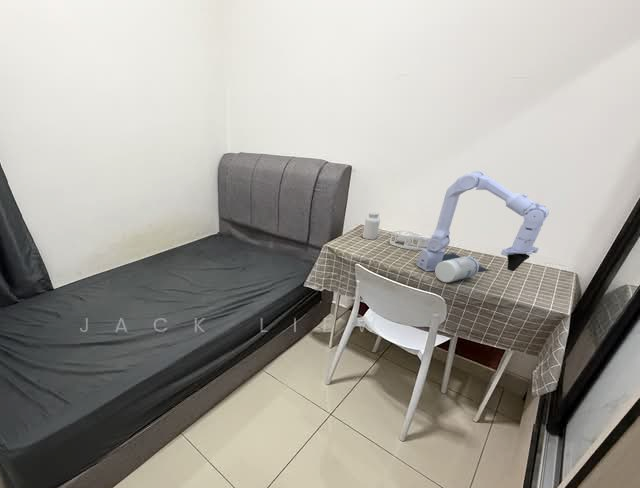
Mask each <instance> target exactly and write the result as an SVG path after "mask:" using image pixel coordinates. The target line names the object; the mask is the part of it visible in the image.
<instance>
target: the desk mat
mask: <svg viewBox="0 0 640 488" xmlns="http://www.w3.org/2000/svg"><path fill="white" fill-rule="evenodd" d="M460 257H461V256H460V255H457V254H455V253H446V254H445V253H444V256H443V259H442V261H446V260H450V259H455V258H460ZM484 271H488V269H487V268H485V267H482V266H480V265H479V270H478V272H484Z"/></svg>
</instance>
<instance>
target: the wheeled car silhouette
mask: <svg viewBox="0 0 640 488" xmlns="http://www.w3.org/2000/svg"><path fill="white" fill-rule="evenodd" d="M394 235H395V236H394ZM393 237H394V240H393ZM431 237H432V235H427V234H424V233H418V232H414V231H410V230H405V229H396V230H392V232H391V234H390V239H389V244H390V245H392V246H394V247H397V248H401V249H406V250H413V251H425V250H426V249H427V248H428V247H427V243H428V241H429V240H430V239H431ZM410 239H411V240H410ZM414 240H418V241H417V244H416V243H414ZM410 241H411V242H410ZM398 243H399V244H398ZM402 244H403V245H402Z"/></svg>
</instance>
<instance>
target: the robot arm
mask: <svg viewBox="0 0 640 488" xmlns="http://www.w3.org/2000/svg"><path fill="white" fill-rule="evenodd" d="M473 189H475V191H484V190H485V191H488V192H489V193H491V194H492V195H494V196H496V197H497V198H499V199H501V200H503V201H505V207H507V208H508V209H509V210H511V211H513V212H514V213H516V215H517V214H518V215H519V216H520V217H523V222H522V224H521V225H520V227H519V230H518V232H517V234H516V236H515V238H514V241H513V243H512V245H511V246H510V247H507V248H504V249H502V250H501V252H500V255H502V256H504V257H507V270H508V271H510V272H515V271H516V270H517V269H518V268H519V267H520V266H521V265H522V264H523V263H524V262H526V260H528V259H530V257H531V256H530V255H533V254H537V253H538V251H539V249H540V248H539V247H536V246H534V244H535V242H536V240H537V238H538V236H539V234H540V232H541V230H542V227H543V226H544V221H545V220H546V219H547V218H548V217H549V214H550V210H549V209H548V207H546V206H545V205H543V204H541V203H540V202H535V201H533V200H532V199H530V198H529V197H528V196H529V195H528V194H526V193H524V194H523V193H519V192H518V193H513V192H511V191H510V190H509V189H507V188H506V187H505V186H503V185H502V184H500V183H499V182H497V181H496V180H495V179H493V178H492V177H490V176H489V175H487V174H484V173H483V172H481V171H473V172H470V173H466V174H464V175H462V176H460V177H458V178H457V179H456V181H455V182H453V184H451V185H450V186H449V187H448V188H447V189H446V191H445V195H444V199H443V201H442V205H441V209H440V213H439V216H438V220H437V224H436V227H435V229H434V232H433V233H432V234H431V239H430V240H429V241H428V243H427V247H428V248H427V249H426V250H425V251H423V250H421V252H420V253H419V255H418V259H417V262H416V263H415V266H417V267H419V268H420V269H422V270H423V271H425V272H435V268H436V266H437V265H438V264H439V263H440V262H442V259H443V256H444V255H445V253H446V247H448V245H449V244H450V242H451V240H450V235H451V232H450V228H451V225H452V222H453V218H454V215H455V212H456V209H457V205H458V202H459V199H460V195H462V194H464V193H465V192H467V191H471V190H473Z"/></svg>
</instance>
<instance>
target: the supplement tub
mask: <svg viewBox="0 0 640 488" xmlns="http://www.w3.org/2000/svg"><path fill="white" fill-rule="evenodd" d="M479 266H480V264H479V262H478V261H477V259H476V258H475V257H472V256H469V255H465V256H460V258H455V259H450V260H446V261H442V262H440V263H439V264H438V265H437V266H436V268H435V271H434V273H435V276H436V278H437V279H438V280H439V281H441V282H443V283H452V282H456V281H460V280H465V279H469V278H472V277H475V275H477V274H478V272H479V271H478V270H479Z"/></svg>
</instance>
